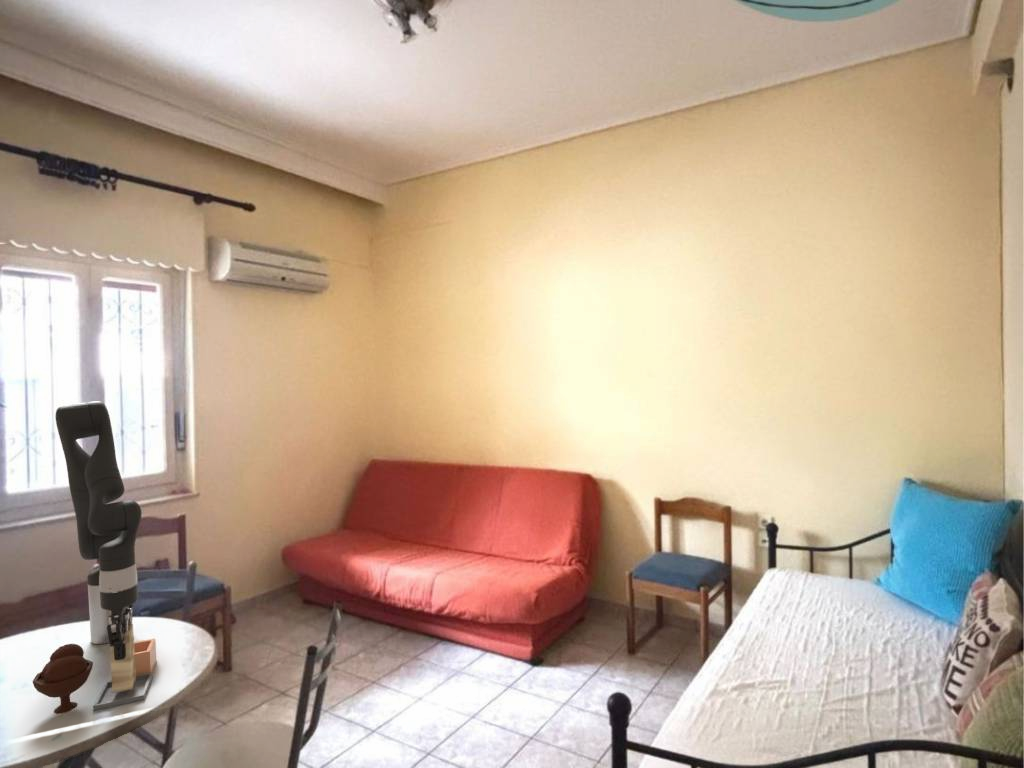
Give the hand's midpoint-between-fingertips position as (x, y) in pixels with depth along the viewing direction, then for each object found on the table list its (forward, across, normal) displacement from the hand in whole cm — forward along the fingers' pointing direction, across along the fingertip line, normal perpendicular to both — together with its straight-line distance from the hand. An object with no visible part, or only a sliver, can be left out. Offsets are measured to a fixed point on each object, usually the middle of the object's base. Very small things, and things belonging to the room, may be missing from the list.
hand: (122, 654), depth 137 cm
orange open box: (+10, -10, 0) cm, 15 cm away
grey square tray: (+10, 0, 0) cm, 10 cm away
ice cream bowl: (+11, +1, -11) cm, 16 cm away
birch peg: (+8, 0, 0) cm, 8 cm away
